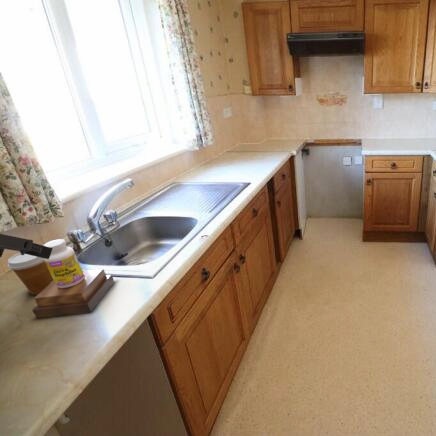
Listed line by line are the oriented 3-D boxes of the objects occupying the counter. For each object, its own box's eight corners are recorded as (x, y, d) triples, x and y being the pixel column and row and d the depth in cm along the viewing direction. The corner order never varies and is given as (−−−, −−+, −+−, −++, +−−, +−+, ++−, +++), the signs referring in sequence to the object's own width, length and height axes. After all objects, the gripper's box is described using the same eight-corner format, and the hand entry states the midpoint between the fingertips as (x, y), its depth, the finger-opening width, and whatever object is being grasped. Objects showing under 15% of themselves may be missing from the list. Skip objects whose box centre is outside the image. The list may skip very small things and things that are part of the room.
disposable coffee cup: (18, 301, 95) (-1, 267, 90) (30, 284, 103) (13, 252, 98) (57, 292, 98) (41, 259, 93) (66, 276, 106) (51, 244, 101)
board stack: (36, 318, 88) (27, 301, 85) (67, 287, 100) (59, 271, 98) (91, 312, 89) (83, 294, 87) (114, 282, 102) (108, 266, 99)
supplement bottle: (56, 292, 88) (36, 252, 83) (57, 281, 93) (38, 242, 88) (85, 283, 92) (68, 243, 86) (85, 272, 97) (68, 234, 91)
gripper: (-22, 207, 60) (74, 239, 80) (-130, 206, 63) (-12, 237, 83) (-39, 246, 58) (64, 269, 77) (-151, 243, 61) (-24, 265, 81)
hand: (25, 252), depth 80 cm, fingers open, 13 cm apart
